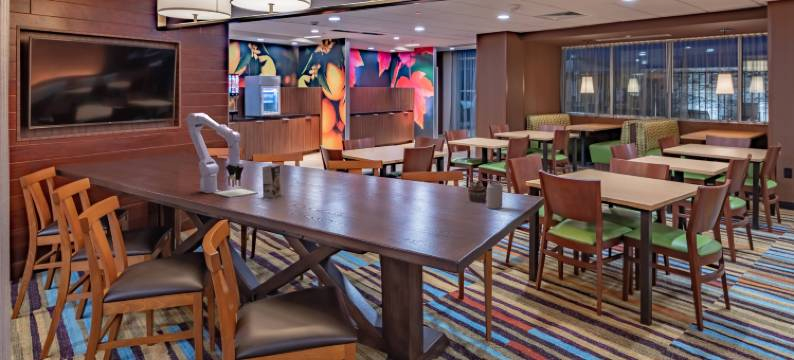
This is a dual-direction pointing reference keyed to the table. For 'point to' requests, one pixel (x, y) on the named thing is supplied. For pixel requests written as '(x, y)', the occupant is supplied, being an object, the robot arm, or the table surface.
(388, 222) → the table surface
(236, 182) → the stool
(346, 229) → the table surface
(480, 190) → the cupcake
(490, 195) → the can
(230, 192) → the mat
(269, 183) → the coffee box
